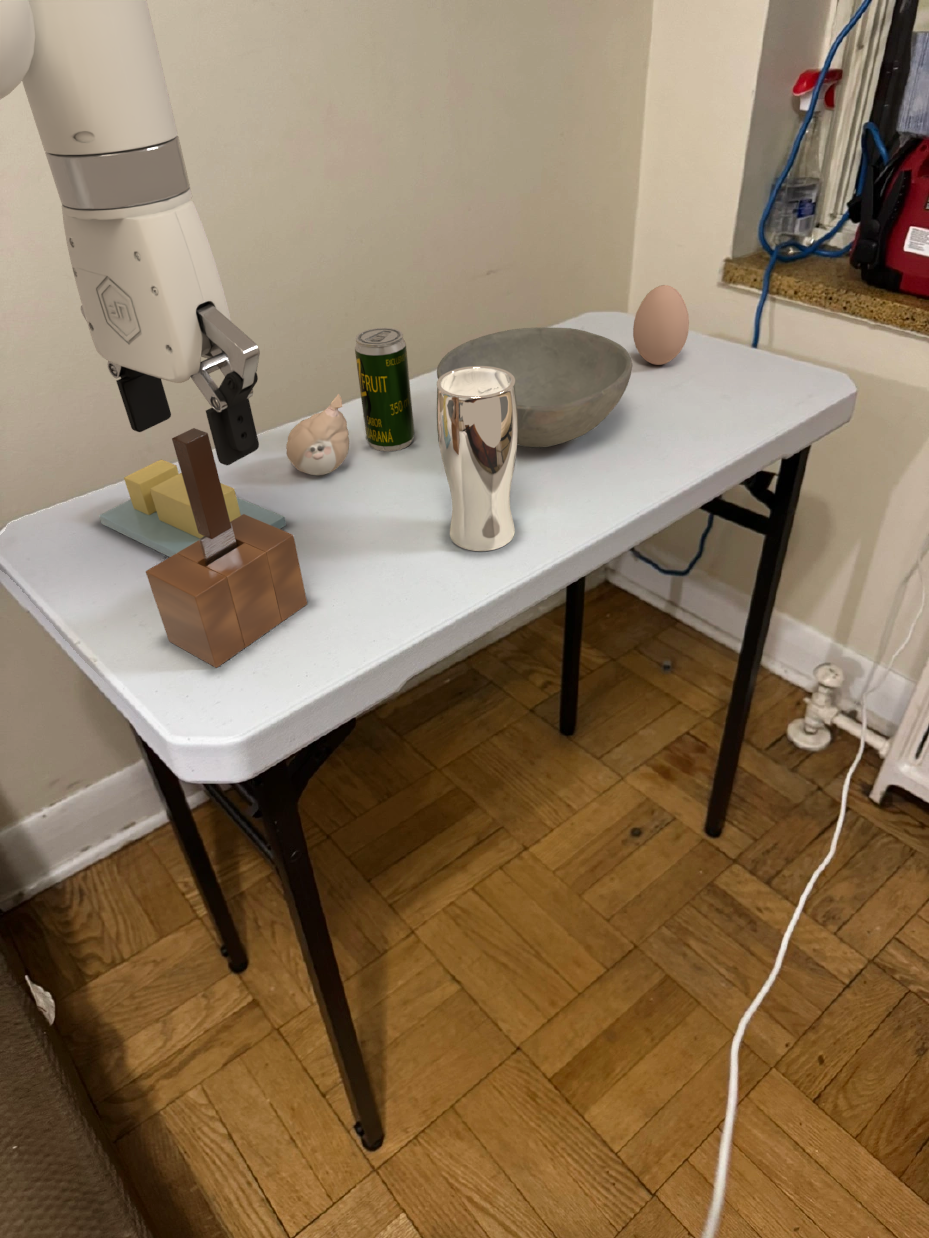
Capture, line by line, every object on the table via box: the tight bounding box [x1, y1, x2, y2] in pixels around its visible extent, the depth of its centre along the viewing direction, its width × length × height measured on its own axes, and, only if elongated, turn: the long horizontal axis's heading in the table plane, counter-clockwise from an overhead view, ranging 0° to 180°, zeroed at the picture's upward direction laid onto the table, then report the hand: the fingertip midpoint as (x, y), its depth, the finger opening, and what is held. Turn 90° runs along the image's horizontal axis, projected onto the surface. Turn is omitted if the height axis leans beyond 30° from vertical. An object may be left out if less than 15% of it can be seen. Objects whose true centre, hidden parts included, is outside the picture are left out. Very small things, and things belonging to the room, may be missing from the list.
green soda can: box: [354, 327, 415, 452], centre depth 93 cm, size 5×5×12 cm
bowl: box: [436, 327, 633, 448], centre depth 95 cm, size 21×21×8 cm
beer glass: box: [436, 366, 519, 552], centre depth 76 cm, size 7×7×15 cm
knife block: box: [145, 514, 308, 669], centre depth 70 cm, size 10×6×7 cm, turn 143°
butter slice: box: [123, 458, 180, 515], centre depth 86 cm, size 4×2×4 cm, turn 143°
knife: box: [171, 427, 237, 566], centre depth 67 cm, size 3×2×17 cm, turn 143°
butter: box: [150, 472, 241, 538], centre depth 83 cm, size 4×7×4 cm, turn 53°
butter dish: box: [98, 496, 287, 558], centre depth 85 cm, size 10×16×1 cm, turn 53°
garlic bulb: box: [285, 393, 350, 476], centre depth 90 cm, size 7×6×8 cm
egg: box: [632, 284, 690, 366], centre depth 108 cm, size 7×7×10 cm
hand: (194, 440), depth 62 cm, fingers open, 9 cm apart
